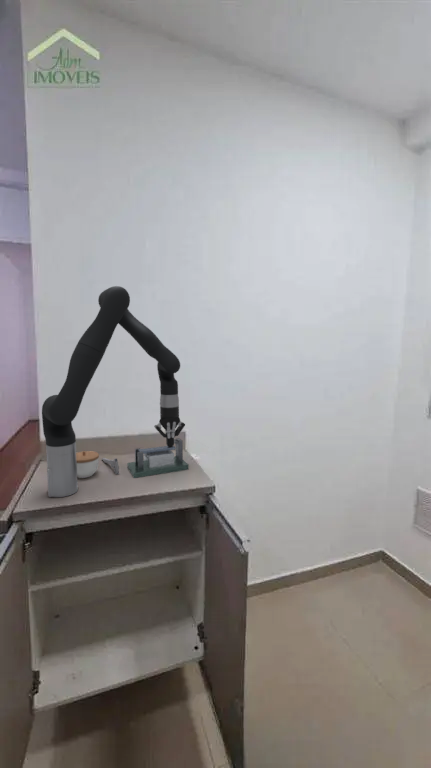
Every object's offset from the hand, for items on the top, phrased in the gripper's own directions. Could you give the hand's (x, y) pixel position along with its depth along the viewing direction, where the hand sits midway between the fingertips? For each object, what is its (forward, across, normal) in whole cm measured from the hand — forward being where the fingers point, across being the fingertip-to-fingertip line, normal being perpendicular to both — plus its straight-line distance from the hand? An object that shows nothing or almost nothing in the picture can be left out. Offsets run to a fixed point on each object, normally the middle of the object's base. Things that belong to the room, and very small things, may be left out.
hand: (170, 446), depth 143 cm
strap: (+1, -6, 0) cm, 6 cm away
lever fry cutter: (+8, -6, 0) cm, 10 cm away
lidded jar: (+8, -33, +5) cm, 34 cm away
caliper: (+9, -23, +10) cm, 27 cm away
